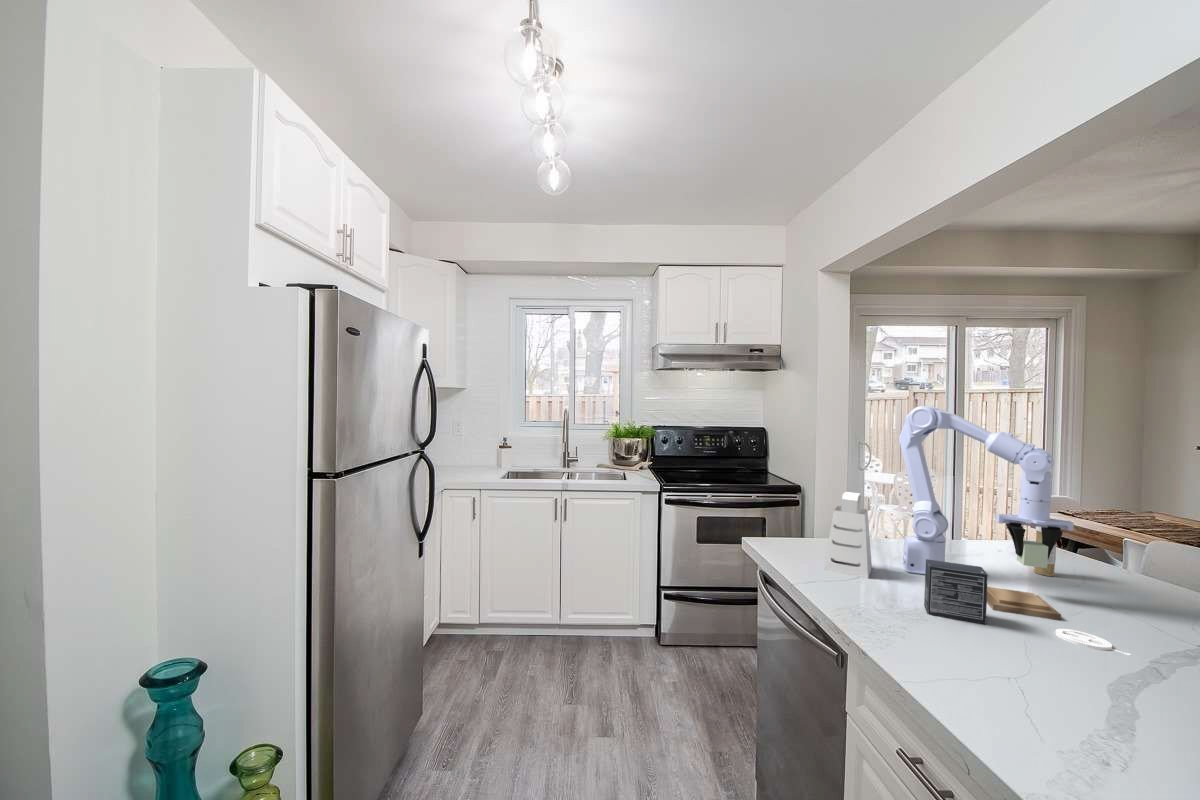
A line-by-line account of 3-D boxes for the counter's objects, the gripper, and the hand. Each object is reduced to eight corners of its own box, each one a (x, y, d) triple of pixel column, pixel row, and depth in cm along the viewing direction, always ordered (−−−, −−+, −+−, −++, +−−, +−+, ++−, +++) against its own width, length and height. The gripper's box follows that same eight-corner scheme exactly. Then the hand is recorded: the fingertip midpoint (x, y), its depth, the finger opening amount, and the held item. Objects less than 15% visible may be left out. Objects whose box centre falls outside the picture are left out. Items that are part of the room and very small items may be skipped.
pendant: (1060, 629, 110) (1060, 625, 110) (1135, 651, 101) (1136, 647, 101) (1050, 638, 105) (1050, 633, 105) (1128, 661, 97) (1128, 657, 97)
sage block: (1023, 565, 127) (1024, 544, 127) (1016, 559, 131) (1017, 539, 131) (1047, 568, 125) (1048, 546, 125) (1039, 562, 129) (1040, 542, 129)
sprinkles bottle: (1035, 570, 149) (1038, 521, 149) (1056, 574, 145) (1059, 525, 145) (1031, 573, 146) (1034, 523, 146) (1052, 577, 143) (1055, 527, 142)
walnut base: (993, 609, 118) (993, 600, 118) (976, 591, 129) (977, 583, 129) (1060, 620, 114) (1061, 610, 114) (1037, 600, 125) (1038, 592, 125)
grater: (823, 569, 141) (827, 494, 141) (830, 560, 150) (833, 488, 150) (867, 578, 136) (871, 499, 136) (871, 567, 145) (875, 493, 144)
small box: (980, 614, 115) (982, 565, 115) (987, 625, 110) (989, 574, 109) (922, 604, 120) (925, 557, 120) (926, 614, 114) (929, 565, 114)
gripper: (1004, 499, 127) (1001, 556, 127) (1081, 506, 122) (1077, 566, 122) (994, 494, 133) (991, 548, 133) (1066, 500, 128) (1063, 557, 128)
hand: (1031, 556), depth 128 cm, fingers closed on sage block, 4 cm apart
